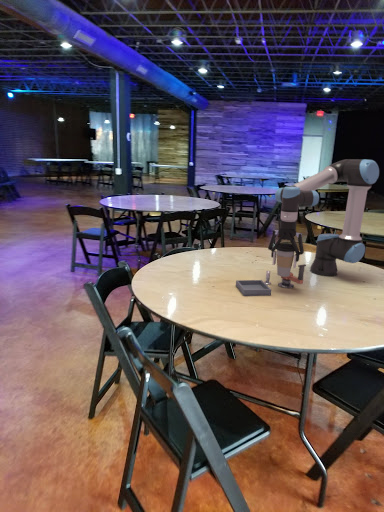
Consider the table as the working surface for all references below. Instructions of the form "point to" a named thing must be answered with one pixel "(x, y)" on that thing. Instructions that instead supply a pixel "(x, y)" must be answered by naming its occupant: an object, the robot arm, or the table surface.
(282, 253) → the coffee cup
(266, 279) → the peg
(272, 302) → the table surface
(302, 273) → the crank
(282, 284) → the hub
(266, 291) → the tray
